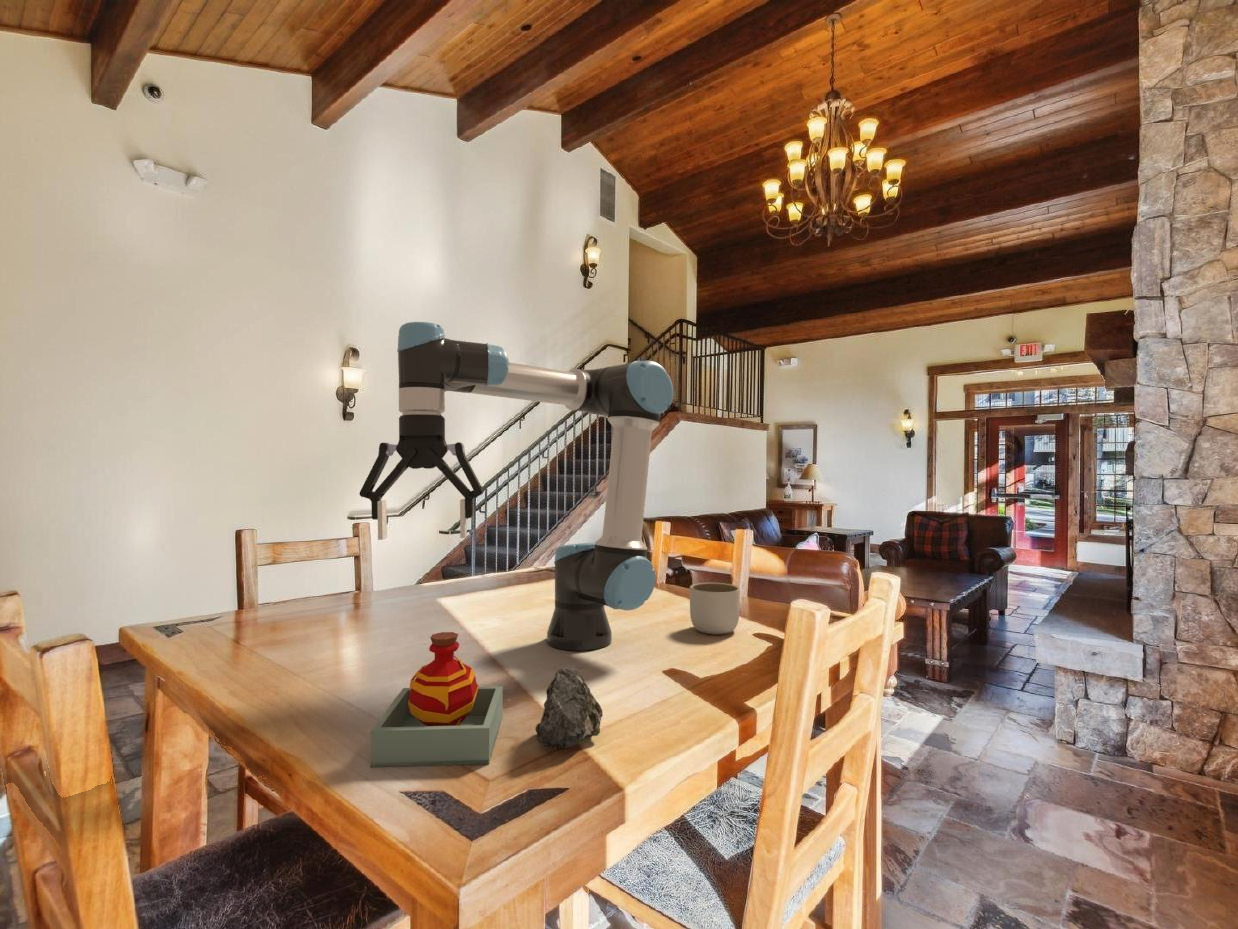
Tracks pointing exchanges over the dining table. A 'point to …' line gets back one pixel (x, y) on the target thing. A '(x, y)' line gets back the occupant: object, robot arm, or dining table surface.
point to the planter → (714, 607)
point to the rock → (568, 711)
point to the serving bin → (437, 734)
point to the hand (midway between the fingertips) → (423, 538)
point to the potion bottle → (443, 685)
